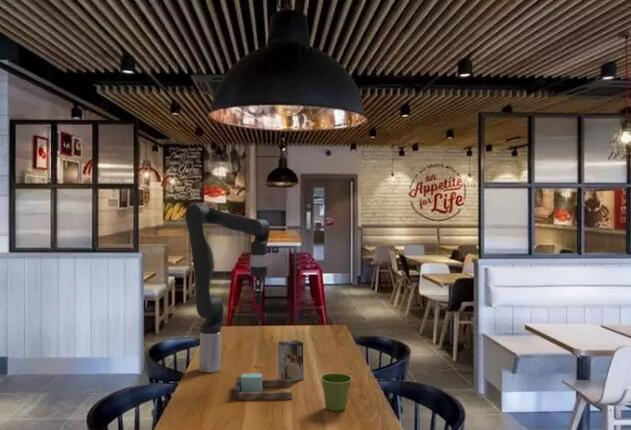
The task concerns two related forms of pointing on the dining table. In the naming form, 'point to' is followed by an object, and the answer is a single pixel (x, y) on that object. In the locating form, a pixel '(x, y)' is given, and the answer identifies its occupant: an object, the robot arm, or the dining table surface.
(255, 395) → the channel
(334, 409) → the plant pot
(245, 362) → the dining table surface
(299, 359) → the coffee box
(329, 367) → the dining table surface
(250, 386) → the block
